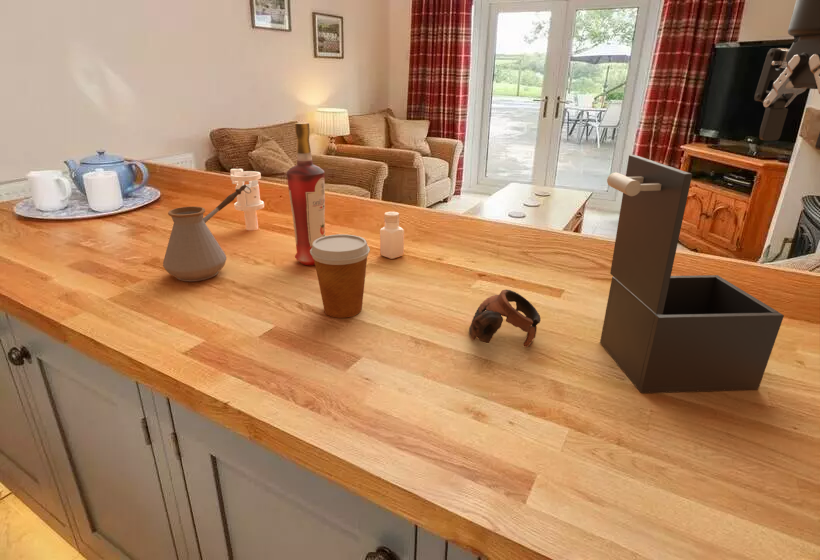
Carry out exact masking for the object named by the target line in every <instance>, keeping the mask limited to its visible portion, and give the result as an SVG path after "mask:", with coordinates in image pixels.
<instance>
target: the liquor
mask: <svg viewBox="0 0 820 560" xmlns="http://www.w3.org/2000/svg"><path fill="white" fill-rule="evenodd" d="M294 130H295V136H296V141H297V142H296V155H297V156H296V165H294V166H292V167H290V168H289V169H288V170H287V171H286V180H287V187H288V195H289V202H290V203H289V204H290V208H291V215H292V223H293V224H292V225H293V230H294V239H295V248H296V253H295V254H294V255H295V256H294V258H295V259H296V260H297V261H298V262H299V263H301V264H302V265H304V266H315V262H314V259H313V257H312V255H311V254H310V250H311V248H312V245H313V242H314V241H315V240H316V239H318V238H321V237H324V236H326V187H325V186H326V185H325V184H326V181H325V177H326V176H325V170H324V169H323V168H321V167H320V166H318V165H316V164H314V163H313V156H312V150H311V143H310V136H311V135H310V134H311V131H310V130H311V129H310V122H295V123H294Z"/></svg>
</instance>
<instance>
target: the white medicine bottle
mask: <svg viewBox="0 0 820 560" xmlns="http://www.w3.org/2000/svg"><path fill="white" fill-rule="evenodd" d="M383 215H384V216H383V217H384V218H383V219H384V226H383V227H381V228H380V229H379V253H380V255H381V256H382V257H385V258H387V259H391V260H393V259H396V258H399V257H402V256H404V254H405V230H404V228H403V227H401V226H400V213H399V212H397V211H386V212H384V214H383Z"/></svg>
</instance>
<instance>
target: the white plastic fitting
mask: <svg viewBox="0 0 820 560" xmlns="http://www.w3.org/2000/svg"><path fill="white" fill-rule="evenodd" d="M229 172H230V176H229V177H230V180H231V185H235V190H236V189H240V187H241V186H243V185H246V186H247V187H249V188H250V189H251V193H249V192H250V189H249V188H247V187H246V188H245V189H244V190H245V191H246V192H248V193H246V192H245V191H244V190H243V191H241V194H238V195H237V196H236V202H234V203H233V205H234V206H233V207H234V209H235V210H236V211H238V212H243V217H244V224H245V230H246V231H257V230H259V222H258V214H257V213H258V211H260V210H262V209H265V201H263V200H261V194H260V186H259V185H260V184H259V180H261V179H262V175H261V174H262V173H261V172H260V171H254V170H246V171H245V170H244V168H231V169H230V171H229ZM245 182H248V184H246V183H245Z"/></svg>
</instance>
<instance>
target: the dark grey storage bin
mask: <svg viewBox="0 0 820 560" xmlns="http://www.w3.org/2000/svg"><path fill="white" fill-rule="evenodd" d="M784 317H785V315H784V314H782V313H781V312H779V311H778V310H776V309H774V308H773V307H771V306H770V305H768V304H766V303H765V302H763V301H762V300H760V299H758V298H757V297H755V296H753V295H752V294H749V293H748V292H746V291H745V290H743V289H741V288H739V287H738V286H736V285H735V284H733V283H731V282H730V281H728V280H727V279H725V278H723V277H722V276H720V275H717V274H705V275H703V274H701V275H671V277H670V282H669V287H668V291H667V296H666V301H665V305H664V310H663V314H656V313H654V312H653V311H652V310H651V309H650V308H649V307H648V306H647V305H645V304H644V303H643V302H642V301H641V300H640V299H639V298H637V297H636V296H635V295H634V294H633V293H632V292H631V291H629V290H628V289H627V288H626V287H625V286H624V285H623V284H621V283H620V282H619V281H618V280H617V279H616V278H615V277H613V276H611V281H610V286H609V291H608V297H607V302H606V307H605V313H604V319H603V324H602V329H601V336H600V341H599V344H601V346H602V347H603V348H604V350H605V351H606V352H607V354H608V355H609V356H610V357H611V358H612V359H613V361H614V362H615V363H616V365H617V366H618V367H619V368H620V369H621V370H622V372H623V373H624V374H625V375H626V377H627V378H628V379H629V380H630V382H631V383H632V384H633V386H635V388H636V389H637V390H638V391H639V392H640V393H641V394H658V393H660V394H661V393H691V392H692V393H693V392H694V393H695V392H696V393H697V392H726V391H727V392H728V391H729V392H730V391H731V392H732V391H758V390H759V389H760V386H761V383H762V380H763V378H764V374H765V371H766V368H767V366H768V363H769V360H770V357H771V354H772V351H773V348H774V345H775V343H776V340H777V337H778V335H779V331H780V329H781V326H782V323H783V320H784Z"/></svg>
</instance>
